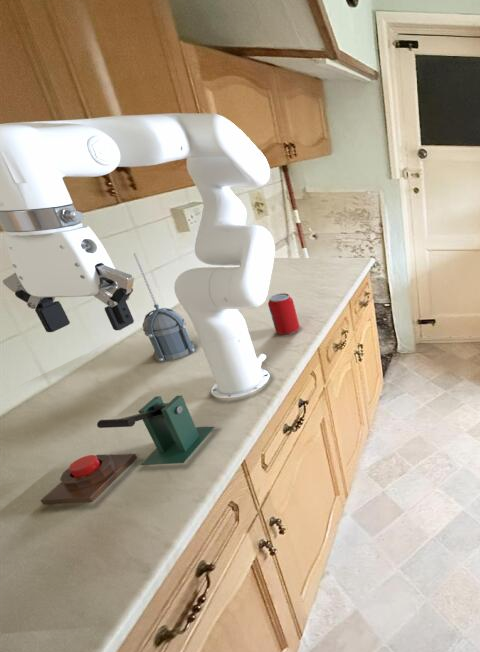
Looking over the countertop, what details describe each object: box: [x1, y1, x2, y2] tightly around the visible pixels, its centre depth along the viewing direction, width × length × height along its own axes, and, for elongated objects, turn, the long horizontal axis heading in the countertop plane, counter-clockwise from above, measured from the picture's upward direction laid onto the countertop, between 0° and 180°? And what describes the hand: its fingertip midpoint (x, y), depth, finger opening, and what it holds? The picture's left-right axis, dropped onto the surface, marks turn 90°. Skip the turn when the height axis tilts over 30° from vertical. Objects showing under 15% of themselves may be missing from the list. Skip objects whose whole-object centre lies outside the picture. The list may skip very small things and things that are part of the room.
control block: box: [39, 453, 138, 506], centre depth 73 cm, size 10×8×4 cm
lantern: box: [133, 252, 196, 363], centre depth 108 cm, size 11×11×30 cm
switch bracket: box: [138, 395, 216, 466], centre depth 79 cm, size 10×8×12 cm
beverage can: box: [267, 292, 300, 336], centre depth 124 cm, size 7×7×12 cm
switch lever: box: [96, 402, 169, 429], centre depth 73 cm, size 12×5×2 cm, turn 4°
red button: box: [68, 454, 101, 477], centre depth 72 cm, size 4×4×2 cm
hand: (92, 327), depth 63 cm, fingers open, 9 cm apart
